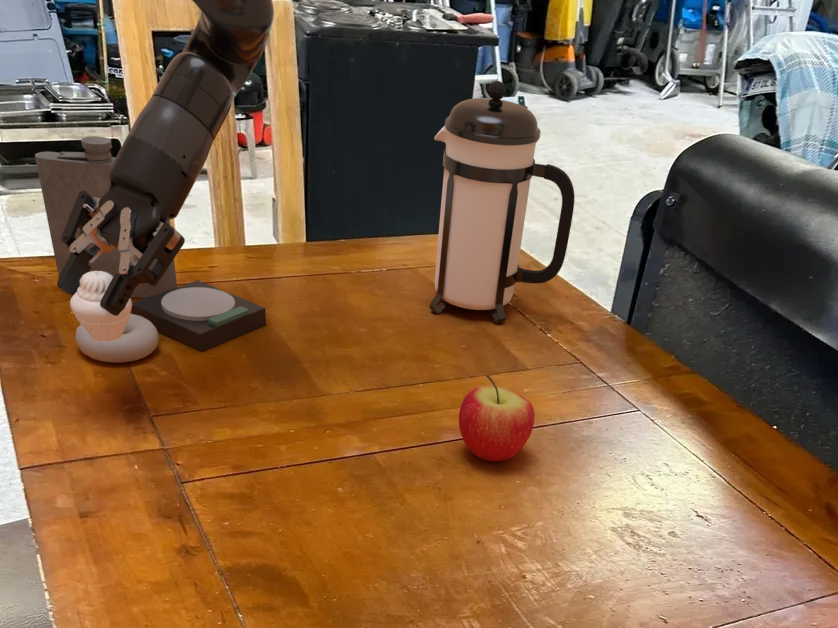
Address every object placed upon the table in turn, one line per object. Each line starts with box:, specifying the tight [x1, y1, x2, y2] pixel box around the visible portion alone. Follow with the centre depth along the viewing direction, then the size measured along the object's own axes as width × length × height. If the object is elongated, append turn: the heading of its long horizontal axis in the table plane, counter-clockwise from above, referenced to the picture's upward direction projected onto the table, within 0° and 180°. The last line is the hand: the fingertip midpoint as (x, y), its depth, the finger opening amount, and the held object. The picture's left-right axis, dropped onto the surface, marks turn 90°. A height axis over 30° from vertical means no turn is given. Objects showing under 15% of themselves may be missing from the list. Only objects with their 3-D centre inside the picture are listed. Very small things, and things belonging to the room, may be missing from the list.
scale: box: [130, 279, 267, 352], centre depth 120 cm, size 13×12×3 cm
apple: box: [458, 373, 536, 462], centre depth 99 cm, size 8×8×10 cm
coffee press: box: [429, 80, 575, 325], centre depth 125 cm, size 17×16×30 cm
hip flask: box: [34, 135, 178, 299], centre depth 119 cm, size 16×4×20 cm, turn 97°
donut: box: [74, 313, 159, 364], centre depth 112 cm, size 10×3×10 cm
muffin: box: [69, 271, 133, 341], centre depth 93 cm, size 6×6×7 cm
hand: (86, 300), depth 92 cm, fingers closed on muffin, 6 cm apart
